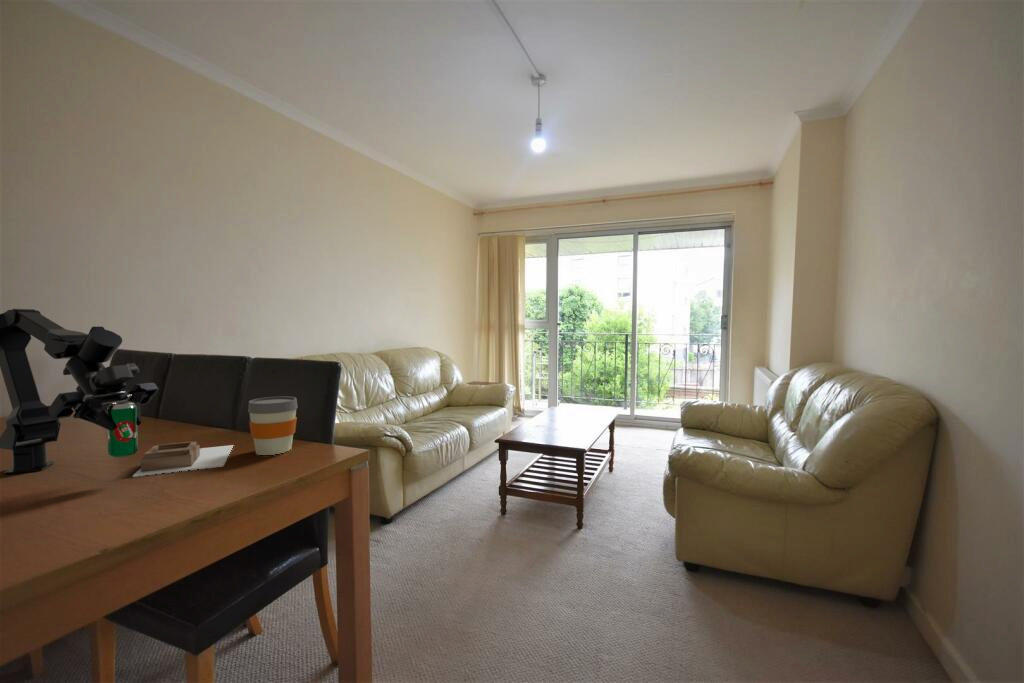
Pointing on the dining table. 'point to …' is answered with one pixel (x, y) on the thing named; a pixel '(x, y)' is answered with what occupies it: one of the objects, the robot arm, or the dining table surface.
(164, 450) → the socket block
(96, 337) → the robot arm
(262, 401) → the reusable coffee cup
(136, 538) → the dining table surface
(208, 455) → the white flat sheet
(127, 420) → the soda can
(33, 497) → the dining table surface
